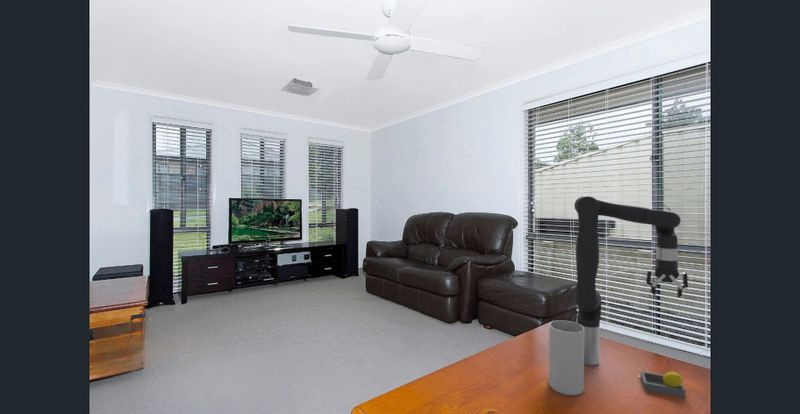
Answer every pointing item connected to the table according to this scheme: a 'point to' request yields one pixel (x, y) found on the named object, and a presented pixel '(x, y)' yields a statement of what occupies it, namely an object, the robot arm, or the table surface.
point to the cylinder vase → (566, 357)
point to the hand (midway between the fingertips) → (666, 295)
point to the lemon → (672, 379)
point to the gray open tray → (660, 385)
